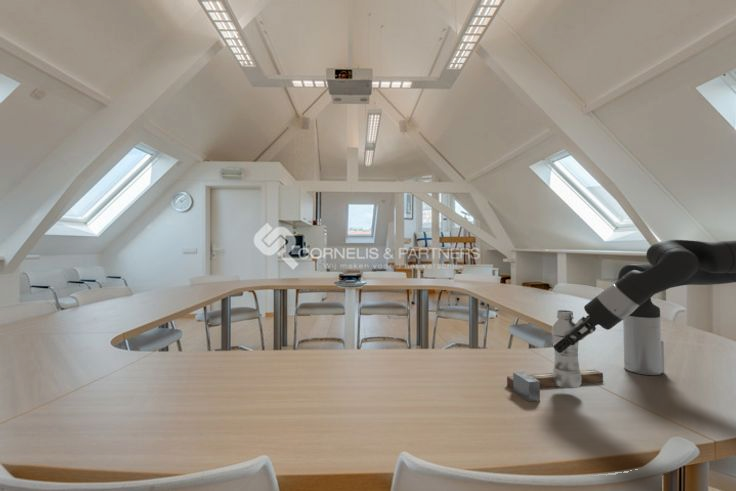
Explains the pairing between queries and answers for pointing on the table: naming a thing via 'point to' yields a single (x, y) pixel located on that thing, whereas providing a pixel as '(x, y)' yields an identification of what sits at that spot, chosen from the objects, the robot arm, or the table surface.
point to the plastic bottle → (565, 353)
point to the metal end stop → (526, 386)
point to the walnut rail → (548, 380)
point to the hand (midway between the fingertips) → (558, 346)
